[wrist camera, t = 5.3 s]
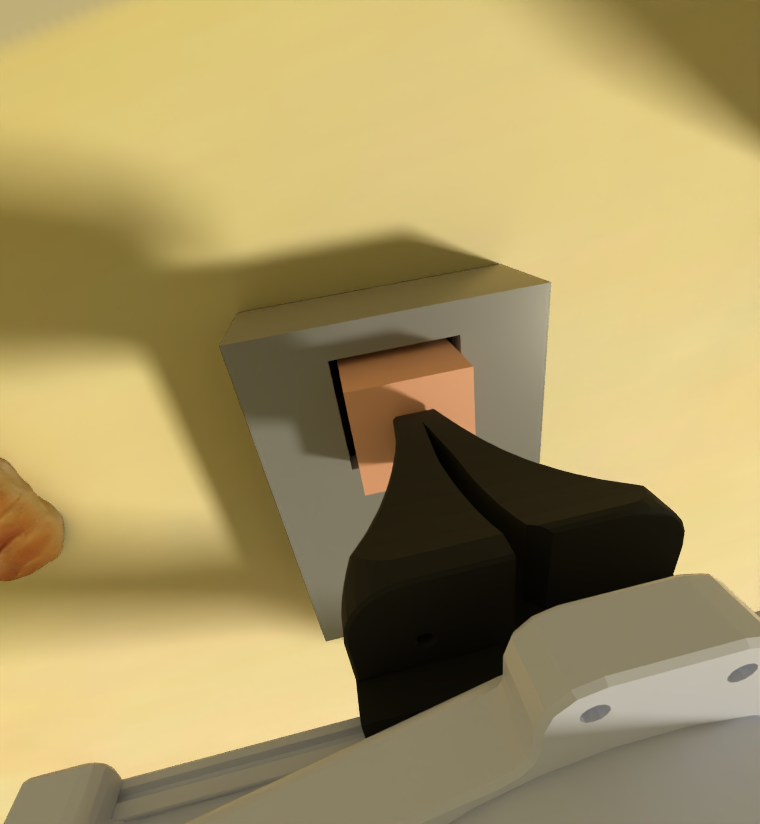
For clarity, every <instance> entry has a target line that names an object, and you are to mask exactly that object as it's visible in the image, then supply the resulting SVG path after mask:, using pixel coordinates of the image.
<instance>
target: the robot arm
mask: <svg viewBox="0 0 760 824" xmlns="http://www.w3.org/2000/svg"><path fill="white" fill-rule="evenodd" d="M393 426H394V433H395V439H396V446H395V456H394V461H393V467H392V472H391V476H390V479H389V483H388V486H387V489H386V492H385V494H384V497H383V499H382V502H381V505H380V507H379V509H378V511H377V513H376V515H375V517H374V519H373V521H372V523H371V524H370V526H369V528H368V530H367V532H366V533H365V535H364V537H363V538H362V540H361V541H360V542H359V544H358V545H357V547H356V548H355V550H354V551H353V552H352V554H351V555H350V557H349V561H348V565H347V570H346V574H345V580H344V585H343V593H342V603H341V619H342V628H343V637H344V644H345V647H346V651H347V654H348V657H349V660H350V663H351V666H352V669H353V672H354V675H355V678H356V684H357V693H358V703H359V712H360V717H357V718H353V719H349V720H346V721H342V722H338V723H334V724H331V725H327V726H323V727H319V728H315V729H312V730H308V731H304V732H300V733H297V734H293V735H289V736H285V737H281V738H278V739H274V740H270V741H266V742H263V743H259V744H255V745H251V746H248V747H244V748H240V749H236V750H232V751H229V752H225V753H221V754H217V755H214V756H210V757H206V758H202V759H198V760H195V761H191V762H187V763H183V764H180V765H176V766H172V767H168V768H165V769H161V770H157V771H153V772H149V773H146V774H142V775H138V776H134V777H131V778H127V779H123V780H122V779H121V777H120V776H119V774H118V773H117V772H116V770H115V769H114V768H112V767H111V766H109V765H107V764H103V763H88V764H83V765H79V766H75V767H71V768H67V769H63V770H60V771H56V772H52V773H48V774H44V775H40V776H37V777H33V778H30V779H28V780H27V781H25V782H24V783H23V784H22V786H21V788H20V790H19V792H18V795H17V797H16V799H15V801H14V803H13V805H12V807H11V809H10V811H9V813H8V816H7V818H6V820H5V822H4V824H760V611H757V612H753V611H752V610H751V609H750V608H749V607H748V606H747V605H746V604H745V603H744V602H743V601H742V600H740V599H739V598H738V597H737V596H736V595H735V594H734V593H733V592H732V591H731V590H730V589H729V588H728V587H727V586H725V585H724V584H723V583H722V582H721V581H719V580H717V579H716V578H714V577H713V576H711V575H710V574H702V573H698V574H683V575H675V576H674V575H673V573H674V570H675V567H676V564H677V561H678V558H679V555H680V552H681V548H682V545H683V539H684V532H685V531H684V527H683V522H682V520H681V519H680V518H679V517H678V516H677V514H676V513H675V512H674V511H672V510H671V509H670V508H669V507H668V506H667V505H665V504H664V503H663V502H662V501H661V500H660V499H659V498H657V497H656V496H655V495H654V494H653V493H651V492H650V491H649V490H648V489H647V488H645V487H644V486H641V485H634V484H628V483H621V482H614V481H608V480H601V479H596V478H591V477H587V476H582V475H578V474H573V473H569V472H566V471H562V470H558V469H555V468H552V467H548V466H545V465H542V464H539V463H536V462H533V461H530V460H527V459H525V458H522V457H520V456H517V455H515V454H512V453H510V452H507V451H505V450H503V449H501V448H499V447H497V446H495V445H493V444H491V443H489V442H487V441H485V440H483V439H481V438H479V437H478V436H476V435H474V434H472V433H471V432H469V431H467V430H466V429H464V428H462V427H461V426H459V425H458V424H456V423H454V422H453V421H451V420H450V419H448V418H447V417H445V416H444V415H442V414H441V413H439V412H438V411H436V410H435V409H430V410H425V411H421V412H416V413H411V414H406V415H402V416H397V417H395V418H394V420H393Z"/></svg>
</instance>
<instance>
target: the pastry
mask: <svg viewBox="0 0 760 824" xmlns="http://www.w3.org/2000/svg"><path fill="white" fill-rule="evenodd" d="M63 542H64V523H63V518H62V516H61V515H60V513H59V512H58V511H57V510H56V508H55V507H54V506H53V505H52V504H50V503H49V502H47V501H45V500H43V499H42V498H40V497H39V496H38V495H37V494H36V493H35V492H34V491H33V489H32V488H31V486H30V485H29V484H27V483H26V482H25V481H24V480H23V479H22V478H21V477H20V476H19V474H18V473H17V471H16V470H15V469H14V468H13V467H12V466H11V465H10V463H9V462H7V461H6V460H5V459H2V458H0V581H10V580H14V579H18V578H21V577H23V576H27V575H29V574H31V573H33V572H35V571H36V570H38V569H40V568H41V567H43V566H44V565H45V564H47V563H48V562H51V561H53V560H54V559H56V558H57V557H58V555H59V554H60V553H61V551H62V548H63Z"/></svg>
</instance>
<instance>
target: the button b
mask: <svg viewBox="0 0 760 824" xmlns="http://www.w3.org/2000/svg"><path fill="white" fill-rule="evenodd" d="M337 364H338V369H339V374H340V379H341V384H342V389H343V394H344V399H345V404H346V408H347V413H348V418H349V422H350V427H351V432H352V436H353V441H354V446H355V450H356V455H357V460H358V465H359V469H360V474H361V479H362V483H363V488H364V493H365V496H366V495H371V494H375V493H379V492H384V491H386V489H387V486H388V483H389V479H390V476H391V472H392V467H393V461H394V456H395V446H396V439H395V433H394V426H393V420H394V418H395V417H397V416H402V415H406V414H411V413H416V412H421V411H425V410H430V409H435V410H436V411H438V412H439V413H441V414H442V415H444V416H445V417H447V418H448V419H450V420H451V421H453V422H454V423H456V424H458V425H459V426H461V427H462V428H464V429H466V430H467V431H469V432H471V433H472V434H474V435H476V431H475V400H474V368H473V366H472V364H471V363H470V362H469V361H468V360H467V359H466V358H465V357H464V356H463V355H462V354H461V353H460V352H459V351H458V350H457V349H456V348H455V347H454V346H453V345H452V344H451V343H450V342H449V341H448V340H447V339H446V338H442V339H437V340H432V341H427V342H422V343H417V344H412V345H407V346H402V347H397V348H392V349H387V350H382V351H377V352H372V353H367V354H362V355H356V356H351V357H346V358H341V359H337Z"/></svg>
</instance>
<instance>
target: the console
mask: <svg viewBox="0 0 760 824" xmlns="http://www.w3.org/2000/svg"><path fill="white" fill-rule="evenodd" d="M550 292H551V282H549V281H546V280H543V279H541V278H538V277H535V276H532V275H530V274H527V273H524V272H521V271H519V270H516V269H513V268H510V267H508V266H505V265H502V264H497V265H492V266H487V267H481V268H476V269H471V270H465V271H460V272H454V273H449V274H444V275H438V276H433V277H428V278H422V279H417V280H412V281H406V282H401V283H395V284H390V285H385V286H379V287H374V288H369V289H363V290H358V291H352V292H347V293H342V294H336V295H331V296H326V297H320V298H315V299H310V300H304V301H299V302H293V303H288V304H283V305H277V306H272V307H267V308H261V309H256V310H250V311H245V312H240V313H237V314H236V316H235V318H234V320H233V322H232V323H231V325H230V327H229V329H228V331H227V332H226V334H225V336H224V338H223V340H222V341H221V343H220V345H219V347H220V350H221V353H222V355H223V358H224V361H225V364H226V367H227V369H228V372H229V375H230V378H231V380H232V383H233V386H234V389H235V391H236V394H237V397H238V400H239V402H240V405H241V408H242V411H243V414H244V416H245V419H246V422H247V425H248V427H249V430H250V433H251V436H252V438H253V441H254V444H255V447H256V449H257V452H258V455H259V458H260V461H261V463H262V466H263V469H264V472H265V474H266V477H267V480H268V483H269V485H270V488H271V491H272V494H273V496H274V499H275V502H276V505H277V508H278V510H279V513H280V516H281V519H282V521H283V524H284V527H285V530H286V532H287V535H288V538H289V541H290V544H291V546H292V549H293V552H294V555H295V557H296V560H297V563H298V566H299V568H300V571H301V574H302V577H303V579H304V582H305V585H306V588H307V591H308V593H309V596H310V599H311V602H312V604H313V607H314V610H315V613H316V615H317V618H318V621H319V624H320V626H321V629H322V632H323V635H324V638H325V640H326V641H329V640H333V639H337V638H341V637H343V628H342V619H341V603H342V593H343V585H344V580H345V574H346V570H347V565H348V561H349V557H350V555H351V554H352V552H353V551H354V550H355V548H356V547H357V545H358V544H359V542H360V541H361V540H362V538H363V537H364V535H365V533H366V532H367V530H368V528H369V526H370V524H371V523H372V521H373V519H374V517H375V515H376V513H377V511H378V509H379V507H380V505H381V502H382V499H383V497H384V494H385V492H386V491H384V492H379V493H375V494H371V495H366V496H365V493H364V488H363V483H362V479H361V474H360V469H359V465H358V460H357V455H356V454H354V455H349V450H348V446H347V441H346V437H345V433H344V428H343V424H342V419H341V415H340V410H339V406H338V401H337V397H336V392H335V388H334V383H333V379H332V374H331V370H330V365H329V361H331V360H336V359H341V358H346V357H351V356H356V355H362V354H367V353H372V352H377V351H382V350H387V349H392V348H397V347H402V346H407V345H412V344H417V343H422V342H427V341H432V340H437V339H442V338H447V337H452V345H453V346H454V347H455V348H456V349H457V350H458V351H459V352H460V353H461V354H462V355H463V356H464V357H465V358H466V359H467V360H468V361H469V362H470V363H471V364H472V366H473V368H474V400H475V431H476V436H478V437H479V438H481V439H483V440H485V441H487V442H489V443H491V444H493V445H495V446H497V447H499V448H501V449H503V450H505V451H507V452H510V453H512V454H515V455H517V456H520V457H522V458H525V459H527V460H530V461H533V462H536V463H539V462H540V447H541V431H542V416H543V400H544V385H545V369H546V354H547V338H548V323H549V308H550Z"/></svg>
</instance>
